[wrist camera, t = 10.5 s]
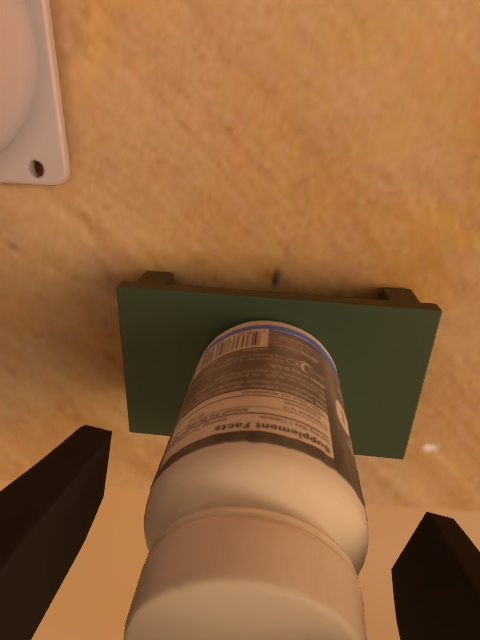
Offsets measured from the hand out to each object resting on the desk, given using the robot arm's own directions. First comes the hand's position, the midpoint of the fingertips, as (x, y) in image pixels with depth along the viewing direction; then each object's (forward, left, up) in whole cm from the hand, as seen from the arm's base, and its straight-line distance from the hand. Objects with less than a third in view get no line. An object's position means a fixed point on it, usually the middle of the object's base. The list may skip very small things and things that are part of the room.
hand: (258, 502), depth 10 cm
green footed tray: (0, 0, -8) cm, 8 cm away
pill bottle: (0, 0, -5) cm, 5 cm away
